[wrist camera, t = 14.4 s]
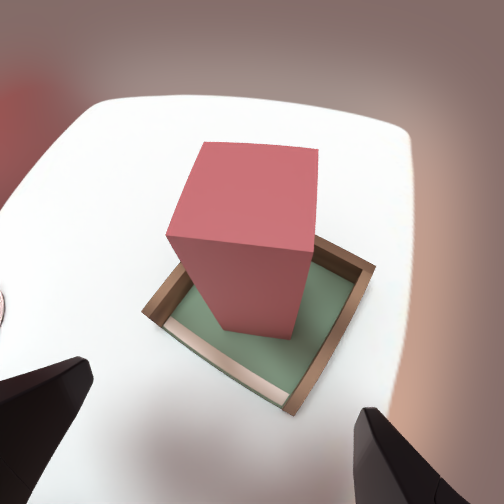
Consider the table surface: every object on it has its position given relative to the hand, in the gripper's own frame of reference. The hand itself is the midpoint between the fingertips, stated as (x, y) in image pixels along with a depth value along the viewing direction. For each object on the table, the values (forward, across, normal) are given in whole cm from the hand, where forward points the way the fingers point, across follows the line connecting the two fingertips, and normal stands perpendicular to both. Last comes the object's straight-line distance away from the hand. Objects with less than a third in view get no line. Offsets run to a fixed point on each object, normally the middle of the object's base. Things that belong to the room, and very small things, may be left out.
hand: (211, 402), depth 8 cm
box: (+14, 0, +4) cm, 15 cm away
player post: (+14, 0, +3) cm, 14 cm away
